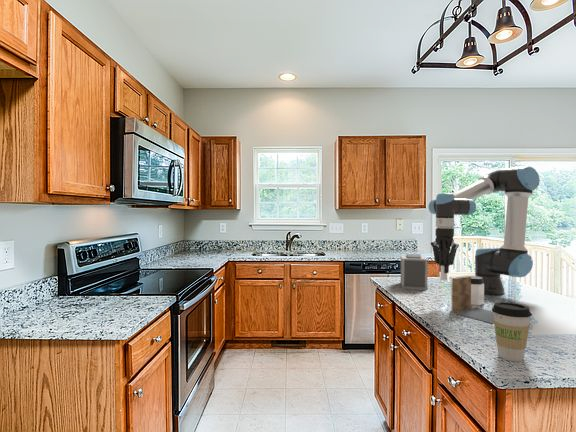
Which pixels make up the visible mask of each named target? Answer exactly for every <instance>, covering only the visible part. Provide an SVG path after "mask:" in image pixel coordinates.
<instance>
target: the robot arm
mask: <svg viewBox="0 0 576 432" xmlns="http://www.w3.org/2000/svg"><path fill="white" fill-rule="evenodd" d="M540 181H541V180H540V175H539V173H538V172H537V170H536V169H535V168H534V167H532V166H529V165H527V166H526V165H524V166H521V165H520V166H516V167H515V166H514V167H510V168H509V167H507V168H501V169H497V170H495V171H492V172H490V173H487V174H485V175H484V176H482V177H479V178H478V180H477V181H475V182H474V183H471V184H469V185H467V186H465V187H463V188H461V189H459V190H456V191H455V192H452V193H438V194H436V198H435V199H432V200H430V202H429V204H428V210H429V212H430V213H431V214H432V215H435V227H436V228H435V240H434V241H431V242H430V245H431V247H432V251H433V257H434V262H435V264H437V265H438V266H439V267H438V269H439V270H438V272H439V273H440V276H439V277H440V281H447V280H448V274H449V273H450V269H449V267H450V266H452V265H454V262H455V259H456V258H455V257H456V254H457V250H458V248H459V246H460V245H459V244H458V243H456V242H455V240H454V235H455V230H454V227H455V225H454V224H455V216H456V215H457V216H469V215H474V213H475V212H476V210H477V204H476V202H475V200H476V199H478V198H480V197H482V196H483V195H491V194H492V193H493V194H494V193H497V192H499V193H500V192H504V195H505V196H506V197H507V199H506V200H507V203H506V213H505V214H506V215H505V225H504V235H503V236H504V237H503V245H502V246H500V247H493V248H492V247H487V248H485V247H484V248H477V249H476V250H475V256H474V266H475V267H474V271H475V273H474V274H475V275H474V276H478V277H482V278H483V284H484V295H494V296H495V295H503V294H505V287H504V284H503V282H502V279H501V275H502V276H509V277H513V278H525V277H526V276H527V275H529V273H531V271H532V269H533V267H534V266H533V265H534V260H533V258H532V256H531V255H530V254H529V253H528V249H527V248H526V247H525V243H526V233H527V232H526V231H527V220H528V219H527V218H528V204H529V198H530V197H531V196H532V195H533V191H534V190H536V189H538V187H539V186H540Z"/></svg>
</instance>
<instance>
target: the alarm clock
mask: <svg viewBox="0 0 576 432" xmlns="http://www.w3.org/2000/svg"><path fill="white" fill-rule="evenodd" d="M428 266H429V265H428V258H427V257H426V256H425V255H421V253H406V255H400V285H401V289H402V290H412V291H413V290H415V291H428Z"/></svg>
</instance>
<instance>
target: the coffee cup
mask: <svg viewBox="0 0 576 432" xmlns="http://www.w3.org/2000/svg"><path fill="white" fill-rule="evenodd" d="M491 311H493V312H494V332H495V340H496V344H497V345H496V346H497V354H498V356H499V358H501V359H503V360H505V361H509V362H516V363H517V362H523V361H524V358H525V352H526V348H527V342H528V336H529V329H530V317H532V315H533V314H532V312H531V311H530V307H529V306H527V305H524V304H520V303H516V302H510V301H509V302H507V301H499V302H498V301H497V302H494V305H493V306H492V308H491Z"/></svg>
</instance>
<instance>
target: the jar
mask: <svg viewBox="0 0 576 432" xmlns="http://www.w3.org/2000/svg"><path fill="white" fill-rule="evenodd" d="M469 276H470V277H471V306H481V305H484V304H485V294H484V284H483V278H482V277H478V276H475V275H469Z"/></svg>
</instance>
